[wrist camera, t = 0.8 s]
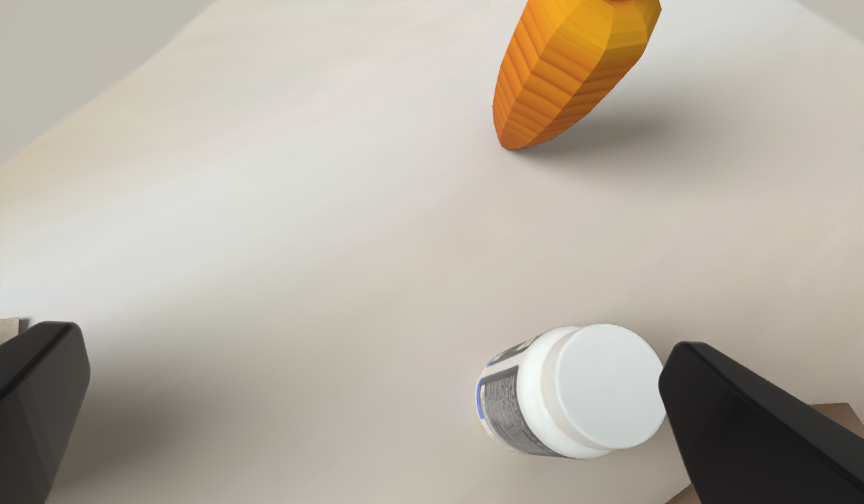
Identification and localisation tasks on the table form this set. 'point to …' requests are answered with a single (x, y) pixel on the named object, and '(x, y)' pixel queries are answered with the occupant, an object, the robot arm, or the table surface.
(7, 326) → the condiment
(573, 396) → the pill bottle
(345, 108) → the table surface
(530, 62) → the carrot
